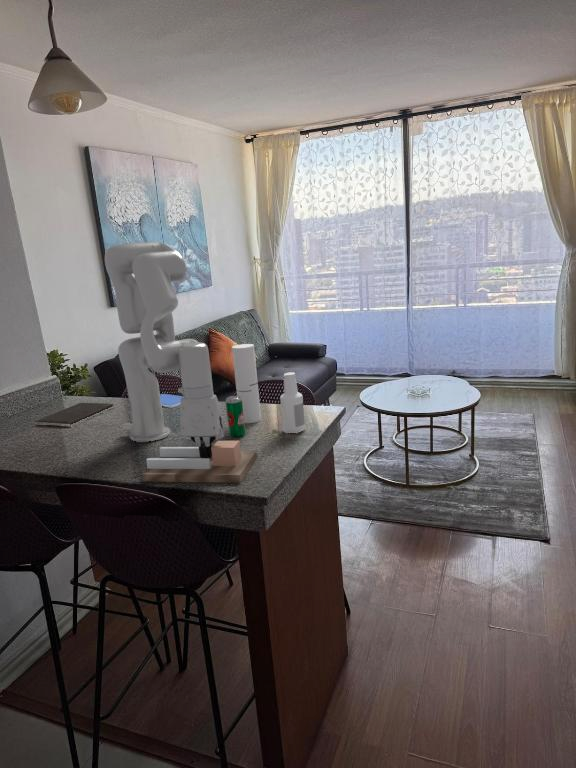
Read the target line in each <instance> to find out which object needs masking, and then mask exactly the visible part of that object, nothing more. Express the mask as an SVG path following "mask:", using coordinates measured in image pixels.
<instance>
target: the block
mask: <svg viewBox="0 0 576 768" xmlns="http://www.w3.org/2000/svg"><path fill="white" fill-rule="evenodd" d="M211 449H212V458H213V466H236V465H237V464H238V463H239V461H240V460H241V451H242V450H241V442H240V440H216V442H215V443H214V444H213V445H212V447H211Z"/></svg>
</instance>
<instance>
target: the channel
mask: <svg viewBox="0 0 576 768" xmlns="http://www.w3.org/2000/svg"><path fill="white" fill-rule="evenodd" d="M158 450H159V455H160V457H200V454H199V447H198V446H161V447H159V449H158ZM160 457H150V458H149V457H147V458H146V467H147V469H210V468H211V464H210V458H160Z"/></svg>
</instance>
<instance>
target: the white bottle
mask: <svg viewBox="0 0 576 768" xmlns="http://www.w3.org/2000/svg"><path fill="white" fill-rule="evenodd" d="M283 392H284V393H282V394H281V395H280V396H279V397H280V398H279V399H280V410H281V412H280V413H281V422H282V423H281V424H282V431H283V432H284V433H285V434H288V433H289V434H288V435H290V433H296V434H299V433H298V432H301V431H303V430H304V429H305V430H306V422H305V412H304V411H305V410H304V397H303V394H302V393H301V392H299V391H298V383H297V379H296V373H295V372H293V371H292V372H291V371H290V372H285V373H284V374H283ZM305 430H304V431H305ZM304 431H303V432H304ZM301 433H302V432H301Z"/></svg>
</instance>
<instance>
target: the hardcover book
mask: <svg viewBox="0 0 576 768" xmlns="http://www.w3.org/2000/svg"><path fill="white" fill-rule="evenodd" d="M112 406H114V403H107V402H106V403H103V402H102V403H100V402H79V403H76V404H74V405H72V406H69V407H66V408H65V409H64V408H63V409H62V410H60V411H57V412H55V413H51V414H50V415H47V416H45V417H42V418H39V419H37V420H35V422H36V424H37V423H55V424H70V425H71V424H73V423H76V422H78V421H80V420H82V419H85V418H87V417H90V416H92V415H94V414H96V413H99V412H101V411H103V410H105V409H108V408H110V407H112ZM114 407H115V406H114Z"/></svg>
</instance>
